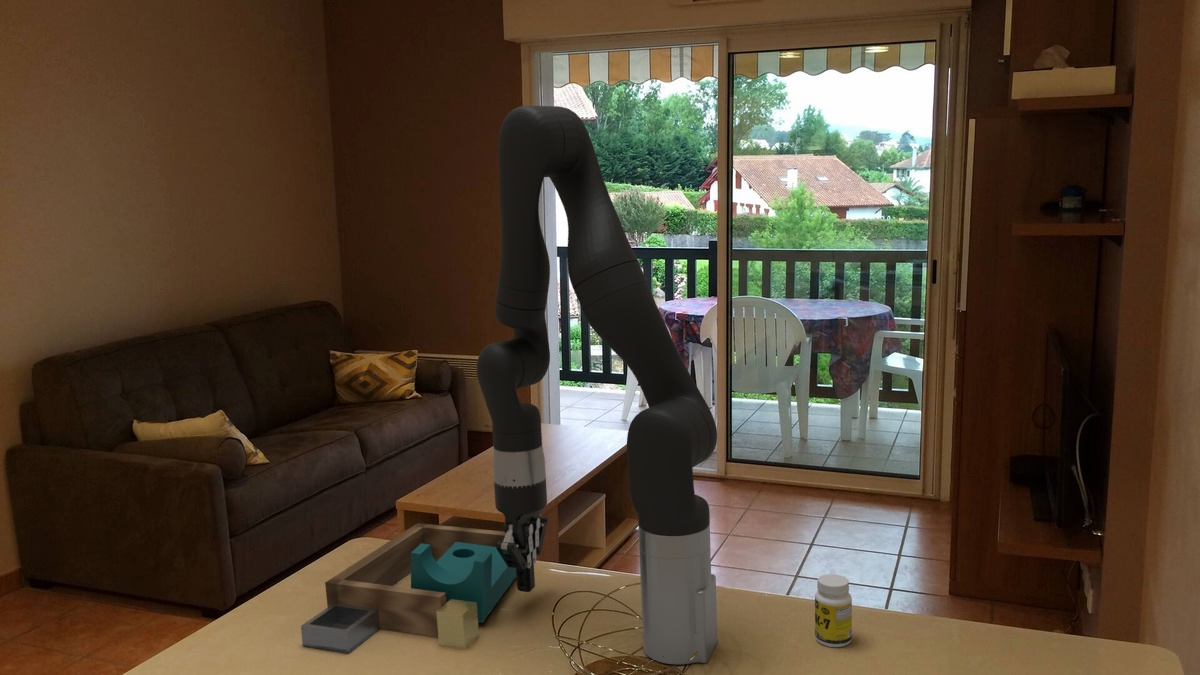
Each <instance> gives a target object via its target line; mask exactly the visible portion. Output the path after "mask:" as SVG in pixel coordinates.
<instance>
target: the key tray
mask: <svg viewBox="0 0 1200 675" xmlns="http://www.w3.org/2000/svg"><path fill="white" fill-rule="evenodd" d="M300 630H301V632H300V633H301V642H302V647H304V648H310V649H317V650H322V651H329V652H330V651H331V652H336V653H343V654H350V653H351V652H353V651H354V650H355V649H356V648H358V647H359V646H360V645H362V643H364V642H366V641H367V640H368V639H370V637H372V636H373V635H374V634H376V633H377V632H378V631H380V630H381V629H380V622H379V610H378V609H374V608H367V607H359V606H352V605H345V604H337V603H334V604H332V605H331V606H329V607H326V608H325V609H323V610H322V611H320V612H319V613H318V614H316V615H314V616H313V617H311V618H310V619H309V620H307V621H305V622H304V623H303V624H301V625H300Z"/></svg>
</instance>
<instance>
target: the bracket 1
mask: <svg viewBox="0 0 1200 675" xmlns="http://www.w3.org/2000/svg"><path fill="white" fill-rule="evenodd" d="M505 535H506V534H505V532H504V531H501V530H500V531H499V530H489V529H480V528H479V529H478V528H470V527H469V528H468V527H459V526H450V525H439V524H430V523H420V522H417V523H415V524H414V525H413V526H411V527H409V528H407V529H406V530H405V531H403V532H402V533H400V534H399V535H397V536H395V537H394V538H392V539H391V540H389V541H387V542H385V543H384V544H383V545H381V546H379V547H378V548H376V549H375V550H374V551H372V552H370V553H369V554H367V555H365V556H364V557H362V558H361V559H360V560H358V561H357V562H355V563H353V564H352V565H350V566H348V567H347V568H345V569H344V570H341V572H339V573H338V574H336V575H335V576H333V577H332V578H330V579H328V580H327V581H325V582H324V584H325V593H326V604H327V607H326V608H328V607H329V606H331V605H332V604H334V603H337V604H345V605H352V606H359V607H367V608H374V609H378V610H379V622H380V630H384V631H392V632H399V633H405V634H412V635H420V636H426V637H433V638H438V625H437V612H436V611H437V610H439V609H440V608H441V607H442V606H443V605H445V604H446V593H444V592H436V591H428V590H420V589H412V588H411V587H402V586H395V584H397V583H398V582H399V581H401V580H402V579H404V578H405V577H407V576H408V575H409V574H411V552H412V551H414V550H415V549H416V548H417V547H418V546H419V545H420V544H421V543H422V544H430V547H431V553H432V555H433V558H434V559H435V561H436V562H437V561H438V560H439V559H440V558H441V557H442V556H443V555H444V554H445V552H446V551H447V550H448V549H449V548H450V547H451V546H452V545H453V544H454V543H455V542H461V543H469V544H476V545H484V546H492V547H496V545H497V542H498V541H500V542H503V540H504V538H505Z"/></svg>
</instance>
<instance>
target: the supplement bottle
mask: <svg viewBox="0 0 1200 675" xmlns="http://www.w3.org/2000/svg"><path fill="white" fill-rule="evenodd" d="M816 584H817V585H816V588H817V591H815V594H814V637H815V640H816V642H818V643H819V644H821V645H822V646H826V647H830V648H843V647H846V646H847V645H850V643H851V642H852V639H853V627H852V626H853V609H852V608H853V604H852V603H853V600H852V599H853V598H852V595H851V593H850V585H849V584H850V581H849V578H847V577H846V576H843V575H840V574H835V573H834V574H833V573H827V574H826V573H825V574H823V575H820V576H819V577H818V578H817V583H816Z"/></svg>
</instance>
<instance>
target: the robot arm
mask: <svg viewBox="0 0 1200 675" xmlns="http://www.w3.org/2000/svg"><path fill="white" fill-rule="evenodd" d="M497 150H498V151H497V152H498V153H497V154H498V155H497V156H498V161H497V162H498V179H499V180H498V181H499V182H498V183H499V184H498V185H499V209H500V212H499V213H500V214H499V215H500V233H501V234H500V237H501V238H500V240H501V242H500V246H501V247H500V260H499V270H498V278H497V286H496V288H497V289H496V296H495V303H494V304H495V305H494V316H495V319H496V320H497V322H498V323H500V324H501V325H503V326H505V327H508V328H511V329H513V338H511V339H506V340H501V341H498V342H493V343H490V344H488V345H486V346H484V347H483V349H482V350H481V351H480V352H479V356H478V358H477V362H476V378H477V381H478V383H479V386H480V390H481V393H482V395H483V399H484V401H485V404H486V409H487V410H488V412H489V416H490V419H491V424H492V425H491V429H492V430H491V431H492V432H491V433H492V446H493V452H492V454H493V455H492V473H493V490H494V491H493V492H494V504H495V505H494V507H495V509H496V510H497V511H498V512H499V513H501V514H503V516H504V523H503V532H505V534H506V535H505V538H504V540H503V542H500V541H498V542H497V545H496V548H497V550H498V552H499V554H500V555H501V557H502V558H503V560H504V561H505V563H506V565H507V566H508V567H511V568H516V574H517V576H516V588H517V590H518V591H519V592H523V593H524V592H525V593H530V592H531V591H532V590H533V589H534V588H535V586H536V579H535V564H536V562H537V556H541V554H542V548H543V545H544V540H545V536H546V530H547V527H548V522H549V518H548V516H546V515H545V516H544V515H541V511H542V510H544V509H545V508H546V507H547V505H548V493H547V492H548V491H547V476H546V474H547V473H546V460H545V459H546V458H545V453H544V448H543V433H542V417H541V413H540V410H539V408H538V407H537V406H536V405H534V404H532V403H529V402H521V401H520V398H519V396H518V393H517V389H522V388H525V387H529V386H533V385H536V384H538V383H540V382H541V381H542V380H543V379H544V377H545V376H546V374H547V372H548V370H549V366H550V363H551V351H550V350H551V349H550V342H549V336H548V327H547V320H546V310H547V309H546V308H547V305H548V304H547V302H548V295H549V288H550V279H551V278H550V277H551V266H550V265H551V263H550V256H549V253H548V248H547V245H546V241H545V238H544V234H543V231H542V230H543V229H542V226H541V221H540V214H539V213H540V211H539V210H540V208H539V207H540V206H539V205H540V197H541V196H540V195H541V191H542V185H543V182H544V178H549V179H550V180H551V182H552V184H553V186H554V188H555V189H556V192H557V195H558V197H559V199H560V202H561V204H562V206H563V209H564V212H565V216H566V221H567V228H568V229H567V250H566V251H567V254H566V255H567V256H566V257H567V263H566V264H567V271H568V272H567V274H568V277H569V281H570V284H571V286H572V287H571V288H572V290H573V291H574V294H575V296H576V298H577V301H578V303H579V306H580V307H581V310H582V312H583V315H584V317H585V319H586V320H587V322H588V324H589V325H590V328H592V330H593V331H594V332H595V333H596V335H598V337H599V338H600V339H601V340H602V341H603V342H604V343H605V344H606V345H607V346H608V347H609V349H611V350H612V351H613V352H614V353H615V354H616V355H617V356H618V357H619V358H620V359H621V360H622V361H623V362H624V363H625V364H626V366H627V367H628V368H629V370H630V371H631V372H632V374H633V376H634V377H635V380H636V381H637V383H638V385H639V387H640V389H641V391H642V394H643V396H644V398H645V400H646V404H647V406H648V407H647V408H645V409H643V410H641V411H640V412H639V413H637V414H636V415H635V416H634V417H633V419H632V420H631V422H630V424H629V428H628V429H627V438H626V456H627V457H626V459H627V469H628V479H629V480H628V481H629V489H630V490H629V491H630V497H631V503H632V505H633V507H634V510H635V511H636V515H637V520H638V523H637V524H638V525H637V526H638V546H639V547H638V550H639V551H638V552H639V573H640V575H639V576H640V595H641V596H640V597H641V598H640V599H641V600H640V601H641V602H640V603H641V621H642V623H641V624H642V640H643V641H642V643H643V644H642V645H643V652H644V653H645V654H646V656H647V657H649V658H650V659H652V660H654V661H656V662H658V663H662V664H668V665H690V664H694V663H702V664H703V663H704V664H705V663H707V662H708V660H710V657H711V655H712V654H713V651H714V650H715V647H716V646H717V644H718V613H717V612H718V610H717V607H718V606H717V605H718V604H717V576H716V575H715V574H714V573H713V574H712V556H711V555H712V554H711V553H712V552H711V523H710V522H711V521H710V520H711V515H710V514H711V513H710V505H709V502H708V501H707V500H706V499H705V498H704V497H702V496H700V495H698V494H696V493H695V483H694V473H693V472H694V471H693V470H694V469H693V468H694V467H696V466H698V465H700V464H701V463H703V462H705V461H706V460H707V459H709V458H710V457H711V455H712V454H713V452H714V451H715V449H716V446H717V442H718V430H717V425H716V424H717V423H716V421H715V418H714V415H713V413H712V411H711V409H710V407H709V405H708V403H707V402H706V400H705V398H704V396H703V395H702V393H701V391H700V389H699V387H698V386H697V384H696V383H695V380H694V379H693V377H692V375H691V374H690V371H689V370H688V369H687V367H686V365H685V362H684V361H683V359H682V357H681V356H680V353H679V351H678V349H677V348H676V345H675V342H674V340H673V338H672V335H671V334H670V331H669V329H668V326H667V325H666V322H665V320H664V318H663V316H662V314H661V312H660V309H659V307H658V305H657V302H656V301H655V298H654V295H653V293H652V290H651V288H650V285H649V283H648V280H647V278H646V276H645V274H644V271H643V269H642V267H641V264H640V262H639V260H638V258H637V255H636V254H635V252H634V250H633V247H632V245H631V244H630V242H629V239H628V236H627V234H626V232H625V229H624V227H623V224H622V222H621V219H620V218H619V217H620V216H618V212H617V210H616V208H615V206H614V203H613V201H612V199H611V196H610V193H609V191H608V188H607V186H606V185H607V184H606V182H605V179H604V176H603V174H602V169H601V167H600V164H599V161H598V158H597V154H596V151H595V148H594V145H593V142H592V139H591V136H590V134H589V131H588V129H587V127H586V126H585V123H584V121H583V120H582V118H580V116H579V115H578V114H577V113H576V112H575V111H573V110H571V109H570V108H567V107H563V106H560V105H559V106H557V105H553V106H551V105H522V106H517V107H516V108H513V109H512V110H511V111H510V112H508V114H507V115H506V116H505V117H504V119H503V120H502V124H501V126H500V129H499V134H498V148H497ZM697 651H698V654H697V656H695V658H693V659H692V660H690V659H691V658H692V656H693V655H694V654H695V653H696V652H697ZM663 656H664V657H663Z"/></svg>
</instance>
